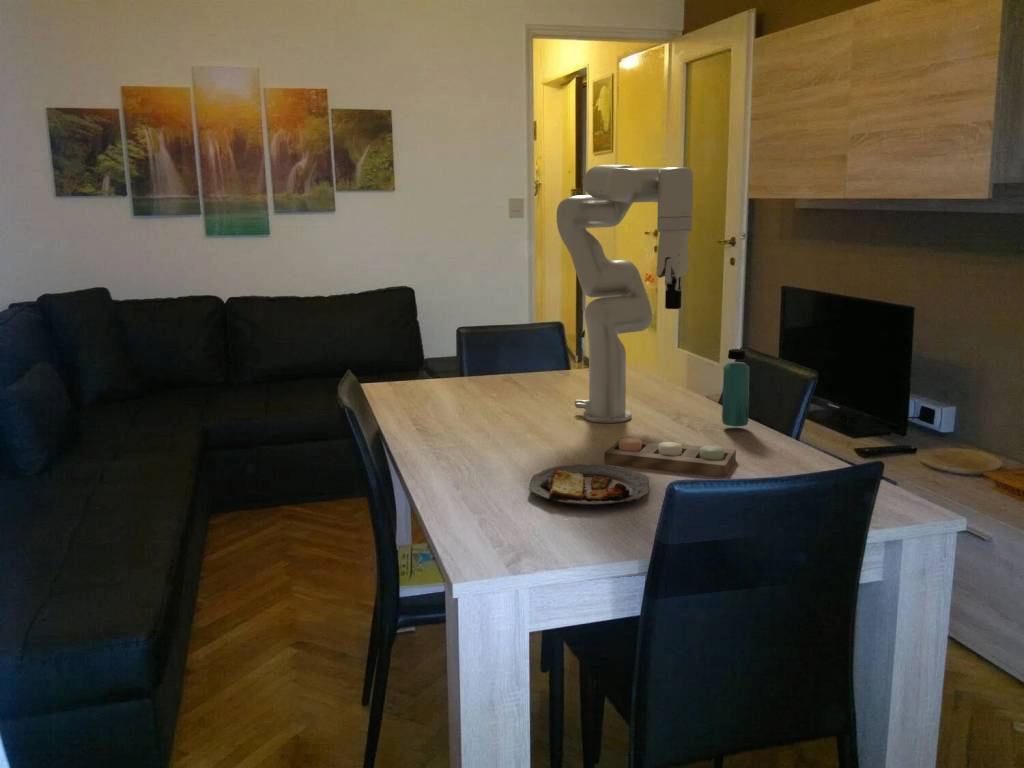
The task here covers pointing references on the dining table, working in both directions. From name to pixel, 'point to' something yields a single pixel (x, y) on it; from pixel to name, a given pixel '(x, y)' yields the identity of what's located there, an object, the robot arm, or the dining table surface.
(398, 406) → the dining table surface
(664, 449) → the cream button
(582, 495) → the food plate
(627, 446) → the terracotta button
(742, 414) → the beverage bottle
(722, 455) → the sage button
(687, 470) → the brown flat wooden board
